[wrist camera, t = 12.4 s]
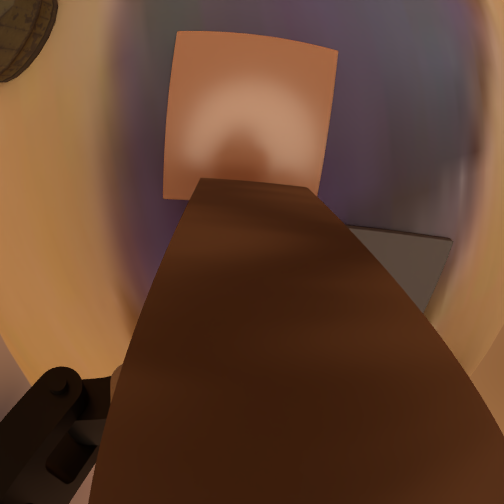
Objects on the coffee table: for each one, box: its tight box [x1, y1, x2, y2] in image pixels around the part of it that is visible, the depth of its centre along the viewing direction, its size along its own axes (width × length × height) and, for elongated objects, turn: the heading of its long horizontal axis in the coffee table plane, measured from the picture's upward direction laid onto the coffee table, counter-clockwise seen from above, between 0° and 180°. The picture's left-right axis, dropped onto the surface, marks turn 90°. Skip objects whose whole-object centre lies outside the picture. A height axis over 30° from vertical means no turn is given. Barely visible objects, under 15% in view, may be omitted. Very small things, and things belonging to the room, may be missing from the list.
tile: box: [163, 31, 338, 200], centre depth 15 cm, size 9×2×10 cm
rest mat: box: [346, 225, 453, 313], centre depth 23 cm, size 12×14×1 cm
